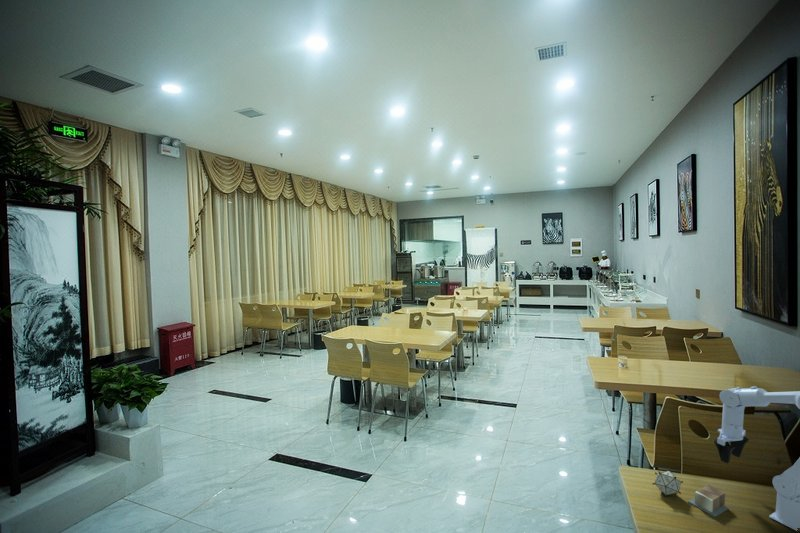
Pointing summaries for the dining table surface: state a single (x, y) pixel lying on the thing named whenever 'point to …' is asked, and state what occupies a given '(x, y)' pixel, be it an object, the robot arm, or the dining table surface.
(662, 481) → the game die
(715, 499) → the pinkish beige block
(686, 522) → the dining table surface
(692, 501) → the mat
